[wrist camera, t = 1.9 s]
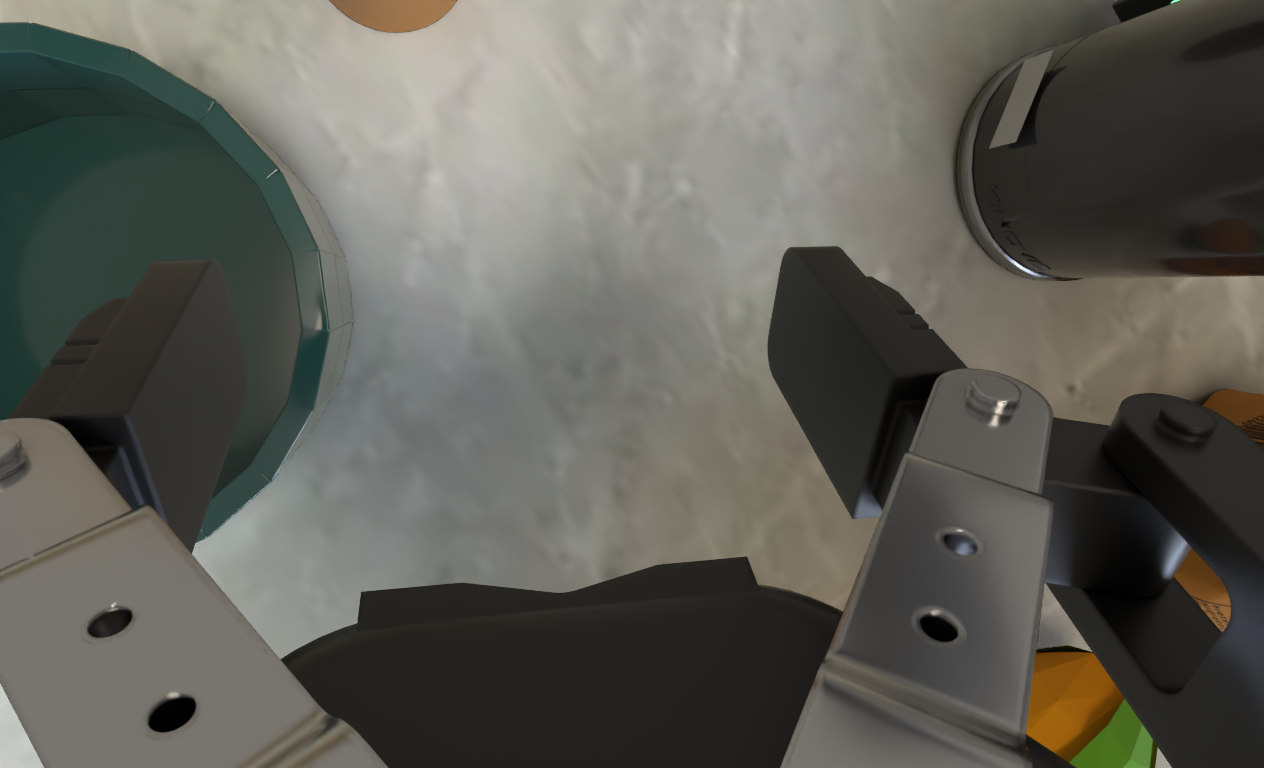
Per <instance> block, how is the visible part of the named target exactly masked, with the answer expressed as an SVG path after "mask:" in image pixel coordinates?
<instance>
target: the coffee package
mask: <svg viewBox="0 0 1264 768" xmlns="http://www.w3.org/2000/svg"><path fill="white" fill-rule="evenodd" d="M1202 406H1205V407H1207V408H1209V409H1211V410H1213V411H1215V412H1217V413H1219V414H1220V415H1222V416H1224V417H1225V418H1227V419H1228V420H1230V421H1231V422H1232V423H1234V424H1235V425H1236V426H1237V427H1238V428H1240V429H1241V430H1242V431H1243V432H1244V433H1246V434H1247V435H1248V436H1249V437H1250V438H1251V439H1253V440H1254V441H1255V442H1256V443H1257V444H1258V445H1260V446H1261V447H1262V448H1263V449H1264V395H1261V394H1253V393H1245V392H1239V391H1234V390H1228V389H1223V390H1220V391H1217V392H1215V393H1214V394H1212V395H1211V396H1210V397H1209V398H1208V399H1207V401H1206V402H1205V403H1204V404H1203V405H1202ZM1174 577H1175V578H1176V579H1177V581H1178V582H1179V583H1180V584H1181V585H1182V586H1183V588H1184V589H1185V590H1186V591H1187V592H1188V593H1189V595H1190V596H1191V597H1192V598H1193V599H1194V600H1195V602H1196V603H1197V604H1198V605H1199V606H1200V607H1201V609H1202V610H1203V611H1204V612H1205V613H1206V614H1207V616H1208V617H1209V618H1210V619H1211V620H1212V621H1213V623H1214V624H1215V625H1216V626H1217V627H1218V628H1219V629H1220V631H1221V632H1222V633H1223V631H1224V630H1225V628H1226V627H1227V625H1228V623H1229V620H1230V615H1231V604H1230V599H1229V595H1228V592H1227V590H1226V588H1225V586H1224V584H1223V582H1222V581H1221V580H1220V578H1219V577H1218V576H1217V575H1216V574H1215V573H1214V571H1213V570H1212V569H1211V568H1210V567H1209V566H1208V565H1207V564H1206V563H1205V562H1204V561H1203V559H1202V558H1201V557H1200V556H1199V555H1198V554H1197V553H1196V552H1195V551H1194V550H1193V549H1192V548H1191V549H1190V551H1189V553H1188V554H1187V556H1186V557H1185V559H1184V561H1183V562H1182V564H1181V566H1180V567H1179V569H1178V570H1177V572H1176V574H1175V575H1174Z"/></svg>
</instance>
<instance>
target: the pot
mask: <svg viewBox="0 0 1264 768" xmlns="http://www.w3.org/2000/svg"><path fill="white" fill-rule="evenodd" d="M178 260H216V261H218V262H219V264H220V265H221V267H222V269H223V272H224V274H225V278H226V281H227V285H228V289H229V294H230V298H231V302H232V306H233V310H234V314H235V318H236V322H237V326H238V330H239V334H240V338H241V342H242V346H243V350H244V354H245V359H246V365H247V374H248V390H247V398H246V402H245V405H244V408H243V411H242V414H241V416H240V419H239V422H238V425H237V428H236V430H235V433H234V436H233V439H232V442H231V445H230V447H229V450H228V453H227V456H226V459H225V461H224V464H223V467H222V470H221V473H220V475H219V478H218V481H217V484H216V487H215V489H214V492H213V495H212V498H211V501H210V503H209V506H208V509H207V512H206V515H205V517H204V520H203V523H202V526H201V529H200V531H199V534H198V537H197V540H196V543H197V542H199V541H201V540H204V539H206V538H207V537H209V536H211V535H212V534H213V533H214V532H215V531H217V530H218V529H219V528H220V527H221V526H222V525H223V524H225V523H226V522H227V521H228V520H229V519H230V518H231V517H233V516H234V515H235V514H236V513H237V512H238V511H239V510H241V509H242V508H243V507H244V506H245V505H246V504H247V503H249V502H250V501H251V500H252V499H253V498H254V497H255V496H257V495H258V494H259V493H260V492H261V491H262V490H263V489H265V488H266V487H267V486H268V485H269V484H270V483H271V482H272V481H273V480H274V479H275V477H276V476H277V475H278V474H279V472H280V471H281V470H282V469H283V467H284V466H285V465H286V464H287V462H288V461H289V460H290V459H291V457H292V456H293V455H294V454H295V452H296V451H297V450H298V449H299V447H300V446H301V445H302V444H303V442H304V441H305V440H306V439H307V437H308V436H309V435H310V434H311V432H312V430H313V429H314V427H315V425H316V424H317V422H318V420H319V418H320V417H321V415H322V414H323V412H324V410H325V409H326V407H327V405H328V403H329V402H330V400H331V398H332V397H333V395H334V393H335V391H336V390H337V388H338V386H339V385H340V381H341V380H342V375H343V371H344V366H345V362H346V358H347V354H348V350H349V346H350V338H351V332H352V327H353V312H352V295H351V289H350V283H349V277H348V271H347V266H346V260H345V256H344V254H343V252H342V250H341V248H340V245H339V242H338V240H337V238H336V236H335V234H334V232H333V229H332V227H331V225H330V223H329V221H328V219H327V217H326V216H325V214H324V212H323V210H322V208H321V206H320V204H319V202H318V200H317V199H316V198H315V196H314V195H313V194H312V193H311V192H310V190H309V189H308V188H307V187H306V186H305V185H304V184H303V183H302V182H301V181H300V180H299V178H298V177H297V176H296V175H295V174H294V173H293V172H292V171H291V170H290V169H289V168H288V167H287V166H286V164H285V163H284V162H283V161H282V160H281V159H280V158H279V157H278V156H277V155H276V154H275V153H274V152H273V150H272V149H271V148H269V147H268V146H267V145H266V144H265V143H264V142H263V141H261V140H260V139H259V138H258V137H257V136H256V135H255V134H254V133H252V132H251V131H250V130H249V129H248V128H247V127H246V126H244V125H243V124H242V123H241V122H240V121H239V120H238V119H237V118H235V117H234V116H233V115H232V114H231V113H230V112H229V111H227V110H226V109H225V108H224V107H223V106H222V105H221V104H219V103H218V102H217V101H216V100H215V99H213V98H211V97H210V96H208V95H206V94H205V93H203V92H201V91H200V90H198V89H196V88H195V87H193V86H191V85H190V84H188V83H186V82H185V81H183V80H181V79H180V78H178V77H176V76H175V75H173V74H171V73H170V72H168V71H166V70H165V69H163V68H161V67H160V66H158V65H156V64H155V63H153V62H151V61H150V60H148V59H146V58H145V57H143V56H142V55H140V54H138V53H137V52H135V51H131V50H130V49H127V48H124V47H120V46H117V45H113V44H109V43H106V42H102V41H98V40H95V39H91V38H88V37H84V36H80V35H77V34H73V33H69V32H66V31H62V30H58V29H55V28H51V27H48V26H44V25H40V24H37V23H28V22H8V23H0V420H7V419H8V418H9V416H10V415H11V414H12V412H13V411H14V410H15V408H16V407H17V405H18V404H19V403H20V401H21V400H22V399H23V397H24V396H25V395H26V393H27V392H28V391H29V389H30V388H31V387H32V385H33V384H34V382H35V381H36V380H37V378H38V377H39V376H40V374H41V373H42V372H43V370H44V369H45V368H46V366H49V365H51V359H52V358H53V357H54V355H55V354H56V353H57V351H58V350H59V349H60V347H61V346H65V340H66V339H67V338H68V336H69V335H70V334H71V332H72V331H73V330H74V328H75V327H76V326H77V324H78V323H79V321H80V320H81V319H82V318H83V317H85V316H87V315H88V314H90V313H91V312H93V311H94V310H96V309H98V308H99V307H101V306H102V305H104V304H105V303H107V302H109V301H110V300H112V299H113V298H129V296H130V295H131V293H132V292H133V290H134V289H135V287H136V286H137V284H138V283H139V281H140V280H141V278H142V277H143V275H144V274H145V272H146V271H147V269H148V268H149V266H150V265H151V264H152V263H153V262H154V261H178Z"/></svg>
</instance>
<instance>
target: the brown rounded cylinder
mask: <svg viewBox="0 0 1264 768" xmlns="http://www.w3.org/2000/svg"><path fill="white" fill-rule="evenodd" d="M330 1H331V2H332V3H333V4H334V5H335V7H336V8H338V9H339V10H340V11H341V12H342V13H344V14H345V15H346V16H348V17H349V18H351V19H352V20H354V21H356V22H358V23H360V24H362V25H364V26H367V27H370V28H372V29H375V30H380V31H385V32H409V31H414V30H418V29H421V28H424V27H426V26H428V25H430V24H432V23H434V22H436V21H437V20H439V19H440V18H441V17H443V16H444V15H445V14H446V13H447V12H448V11H449V10H450V9H451V8H452V6H453V5H454V4H455V3H456V1H457V0H330Z"/></svg>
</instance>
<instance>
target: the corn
mask: <svg viewBox="0 0 1264 768" xmlns="http://www.w3.org/2000/svg"><path fill="white" fill-rule="evenodd" d="M1026 734H1027V735H1029V736H1030V737H1032V738H1033V739H1035V740H1036V741H1038V742H1039V743H1041V744H1042V745H1044V746H1045V747H1047V748H1048V749H1050V750H1051V751H1053V752H1054V753H1055V754H1057V755H1058V756H1060V757H1061V758H1063V759H1064V760H1066V761H1067V762H1069V763H1070V764H1072V765H1073V766H1075V767H1076V768H1155V763H1156V755H1157V747H1158V746H1157V745H1156V743H1155V742H1154V740H1153V739H1152V738H1151V736H1150V735H1149V733H1148V732H1147V730H1146V729H1145V727H1144V726H1143V724H1142V723H1141V722H1140V720H1139V719H1138V717H1137V716H1136V714H1135V713H1134V711H1133V710H1132V708H1131V707H1130V705H1129V704H1128V703H1127V701H1126V700H1125V698H1124V697H1123V695H1122V694H1121V692H1120V691H1119V689H1118V688H1117V687H1116V685H1115V684H1114V682H1113V681H1112V679H1111V678H1110V676H1109V675H1108V673H1107V672H1106V670H1105V669H1104V668H1103V666H1102V665H1101V663H1100V662H1099V660H1098V659H1097V657H1096V656H1095V654H1094V653H1093V652H1090V651H1086V650H1083V649H1079V648H1075V647H1072V646H1060V647H1052V648H1044V649H1036V655H1035V663H1034V671H1033V679H1032V687H1031V695H1030V703H1029V711H1028V719H1027V727H1026Z"/></svg>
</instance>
